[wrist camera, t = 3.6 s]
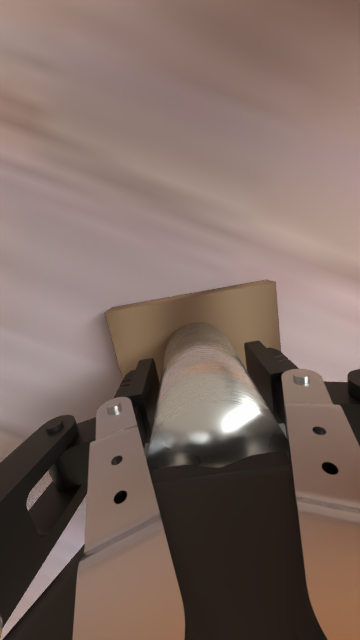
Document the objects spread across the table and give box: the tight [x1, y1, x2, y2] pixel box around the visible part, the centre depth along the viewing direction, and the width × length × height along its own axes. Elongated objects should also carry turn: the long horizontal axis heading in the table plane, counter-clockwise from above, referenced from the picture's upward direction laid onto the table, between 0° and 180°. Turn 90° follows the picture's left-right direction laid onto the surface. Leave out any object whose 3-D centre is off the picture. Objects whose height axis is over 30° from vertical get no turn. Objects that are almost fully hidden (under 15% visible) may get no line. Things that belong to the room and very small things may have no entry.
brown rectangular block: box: [105, 280, 281, 383], centre depth 15 cm, size 10×7×2 cm
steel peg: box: [147, 322, 289, 479], centre depth 10 cm, size 4×4×8 cm
